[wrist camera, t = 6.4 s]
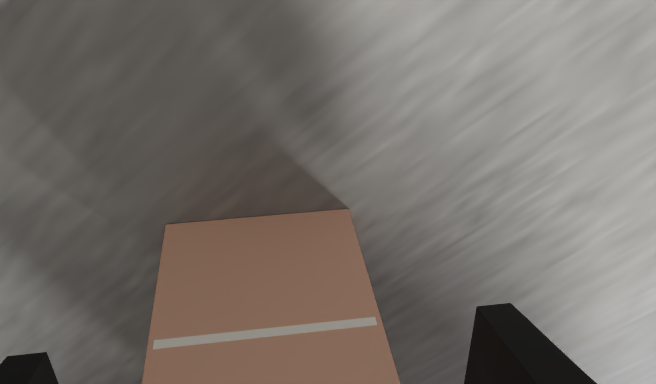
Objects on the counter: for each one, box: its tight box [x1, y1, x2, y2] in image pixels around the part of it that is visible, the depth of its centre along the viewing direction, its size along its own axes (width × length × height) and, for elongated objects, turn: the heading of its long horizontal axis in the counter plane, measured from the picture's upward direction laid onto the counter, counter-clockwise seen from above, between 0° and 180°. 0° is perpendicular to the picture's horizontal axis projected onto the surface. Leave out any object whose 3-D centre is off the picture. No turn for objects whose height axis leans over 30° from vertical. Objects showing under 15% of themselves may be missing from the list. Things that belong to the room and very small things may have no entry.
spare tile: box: [142, 209, 400, 384], centre depth 11 cm, size 1×4×7 cm, turn 91°
